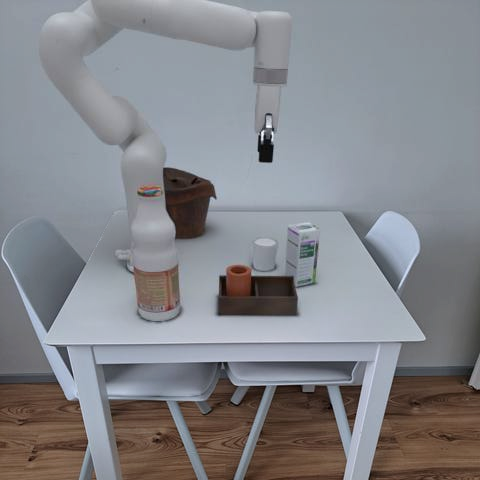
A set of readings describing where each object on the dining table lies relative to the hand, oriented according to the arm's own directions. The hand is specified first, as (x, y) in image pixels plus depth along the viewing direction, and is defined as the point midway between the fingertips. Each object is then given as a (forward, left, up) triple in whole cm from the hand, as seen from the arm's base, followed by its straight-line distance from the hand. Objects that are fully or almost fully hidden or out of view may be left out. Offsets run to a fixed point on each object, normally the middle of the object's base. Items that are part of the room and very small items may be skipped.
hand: (264, 157), depth 117 cm
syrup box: (+10, -8, -29) cm, 31 cm away
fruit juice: (-24, -24, -29) cm, 44 cm away
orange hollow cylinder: (-6, -21, -29) cm, 36 cm away
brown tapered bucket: (-22, +25, -29) cm, 44 cm away
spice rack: (-2, -21, -29) cm, 35 cm away
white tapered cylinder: (+1, 0, -29) cm, 29 cm away
